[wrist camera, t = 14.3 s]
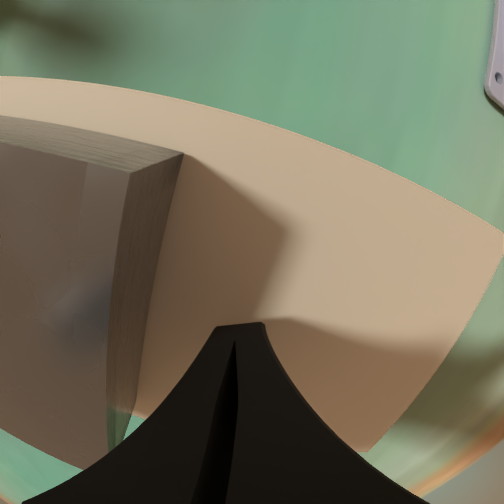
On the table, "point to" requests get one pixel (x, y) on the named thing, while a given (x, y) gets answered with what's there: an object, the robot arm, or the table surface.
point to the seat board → (290, 254)
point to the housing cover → (76, 281)
